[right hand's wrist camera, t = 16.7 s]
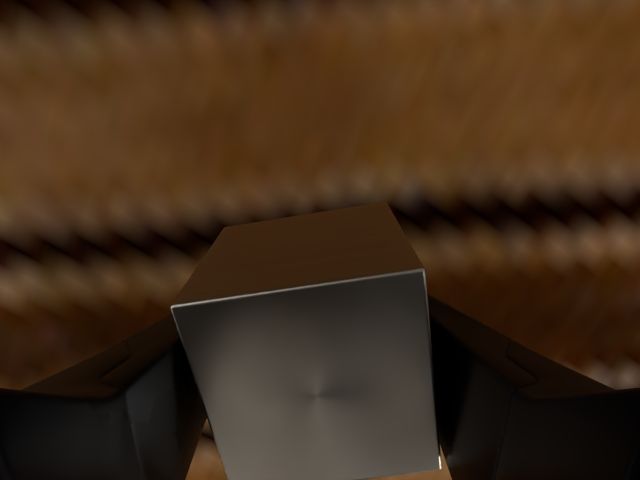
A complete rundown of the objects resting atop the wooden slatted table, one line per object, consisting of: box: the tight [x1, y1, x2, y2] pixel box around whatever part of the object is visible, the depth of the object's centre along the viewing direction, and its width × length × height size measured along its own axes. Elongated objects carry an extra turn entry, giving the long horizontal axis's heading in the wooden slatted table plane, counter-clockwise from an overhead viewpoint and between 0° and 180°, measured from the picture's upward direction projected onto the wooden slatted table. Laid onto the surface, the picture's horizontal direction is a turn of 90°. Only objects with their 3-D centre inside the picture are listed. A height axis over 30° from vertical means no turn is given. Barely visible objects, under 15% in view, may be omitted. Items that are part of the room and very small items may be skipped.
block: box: [171, 202, 441, 480], centre depth 10 cm, size 5×5×4 cm
